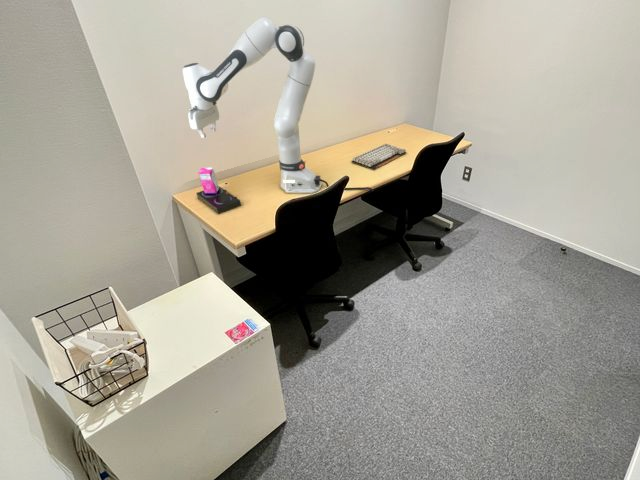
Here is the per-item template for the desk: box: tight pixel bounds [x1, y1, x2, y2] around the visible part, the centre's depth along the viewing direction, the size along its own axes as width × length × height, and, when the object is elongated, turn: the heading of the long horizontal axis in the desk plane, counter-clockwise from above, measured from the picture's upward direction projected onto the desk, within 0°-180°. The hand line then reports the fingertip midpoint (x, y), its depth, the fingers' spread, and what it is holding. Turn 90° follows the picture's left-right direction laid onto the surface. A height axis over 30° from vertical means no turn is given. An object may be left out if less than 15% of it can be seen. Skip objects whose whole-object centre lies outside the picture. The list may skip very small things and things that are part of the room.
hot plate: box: [195, 185, 242, 215], centre depth 163 cm, size 22×13×4 cm, turn 45°
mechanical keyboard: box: [351, 143, 407, 171], centre depth 213 cm, size 38×19×3 cm, turn 141°
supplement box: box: [197, 167, 219, 194], centre depth 161 cm, size 6×6×12 cm
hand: (208, 134), depth 162 cm, fingers open, 8 cm apart
